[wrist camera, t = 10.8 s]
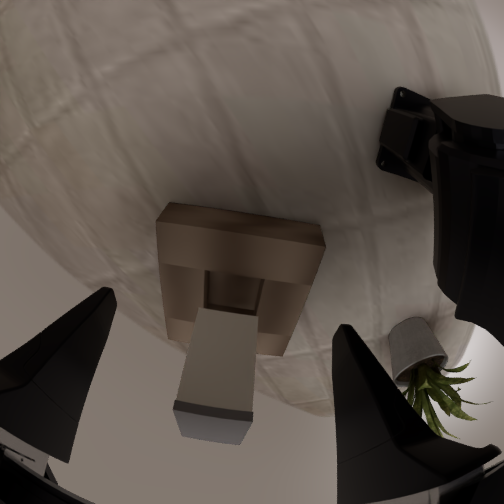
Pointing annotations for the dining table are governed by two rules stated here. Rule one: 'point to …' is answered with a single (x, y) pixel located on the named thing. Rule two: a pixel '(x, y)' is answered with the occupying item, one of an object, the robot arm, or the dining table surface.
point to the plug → (218, 378)
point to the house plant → (424, 371)
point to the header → (236, 269)
